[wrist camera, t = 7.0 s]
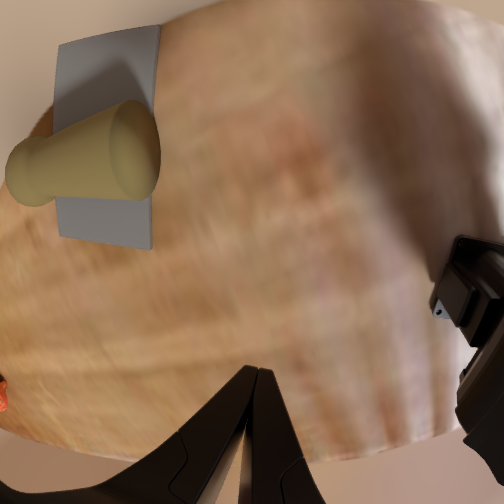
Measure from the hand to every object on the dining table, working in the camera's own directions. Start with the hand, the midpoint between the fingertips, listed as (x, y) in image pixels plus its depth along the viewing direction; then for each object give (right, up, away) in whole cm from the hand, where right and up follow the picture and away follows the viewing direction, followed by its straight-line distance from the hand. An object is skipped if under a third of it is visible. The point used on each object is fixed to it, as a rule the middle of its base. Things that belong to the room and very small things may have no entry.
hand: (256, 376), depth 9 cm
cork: (-7, +10, +8) cm, 14 cm away
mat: (-11, +12, +11) cm, 20 cm away
